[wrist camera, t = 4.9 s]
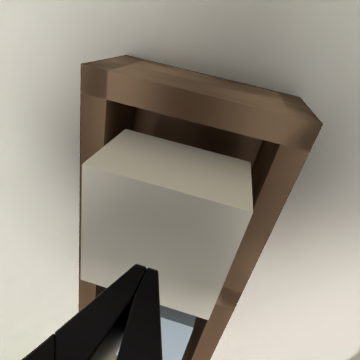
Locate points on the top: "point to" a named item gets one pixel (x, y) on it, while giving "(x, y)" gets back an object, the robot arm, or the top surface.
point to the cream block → (164, 217)
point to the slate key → (174, 332)
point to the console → (203, 139)
